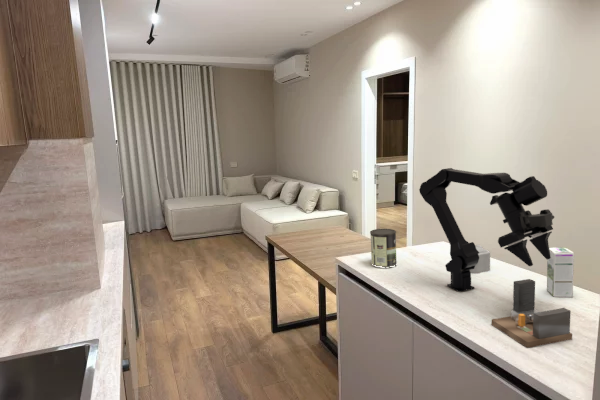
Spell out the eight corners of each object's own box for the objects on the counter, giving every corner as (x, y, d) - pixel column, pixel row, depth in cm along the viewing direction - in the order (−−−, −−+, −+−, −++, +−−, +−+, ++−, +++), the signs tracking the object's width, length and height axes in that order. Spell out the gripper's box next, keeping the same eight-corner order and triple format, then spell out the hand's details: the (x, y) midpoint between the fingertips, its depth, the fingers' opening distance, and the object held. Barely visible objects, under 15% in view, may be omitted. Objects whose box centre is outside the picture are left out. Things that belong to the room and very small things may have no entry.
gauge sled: (506, 318, 113) (507, 282, 111) (530, 314, 114) (531, 278, 112) (521, 327, 107) (522, 289, 106) (545, 323, 109) (547, 285, 107)
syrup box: (573, 297, 128) (575, 252, 125) (552, 297, 129) (554, 252, 127) (565, 290, 133) (567, 247, 131) (545, 290, 134) (547, 247, 132)
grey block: (472, 274, 152) (472, 252, 151) (448, 265, 164) (447, 244, 163) (494, 270, 156) (494, 247, 155) (468, 261, 168) (468, 240, 167)
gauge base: (491, 324, 114) (491, 298, 112) (532, 317, 116) (532, 292, 115) (527, 347, 101) (528, 319, 100) (572, 339, 103) (573, 311, 102)
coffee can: (393, 260, 175) (393, 227, 172) (399, 268, 164) (398, 233, 162) (369, 261, 175) (368, 229, 173) (373, 269, 165) (372, 235, 163)
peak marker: (518, 325, 108) (518, 314, 108) (522, 324, 108) (522, 313, 108) (521, 326, 107) (521, 315, 107) (525, 326, 108) (525, 315, 107)
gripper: (519, 205, 110) (548, 260, 105) (555, 196, 119) (584, 246, 115) (486, 221, 119) (512, 272, 114) (522, 211, 128) (547, 258, 124)
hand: (540, 262), depth 116 cm, fingers open, 9 cm apart
